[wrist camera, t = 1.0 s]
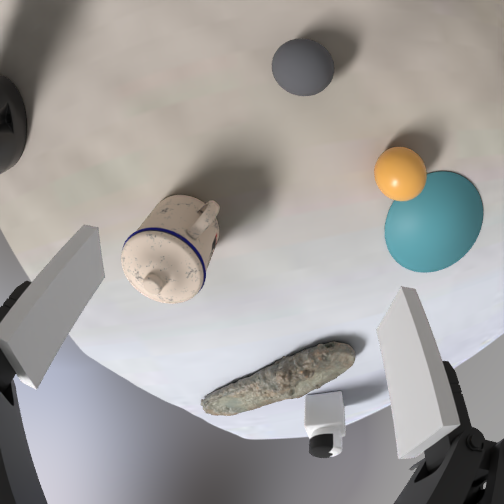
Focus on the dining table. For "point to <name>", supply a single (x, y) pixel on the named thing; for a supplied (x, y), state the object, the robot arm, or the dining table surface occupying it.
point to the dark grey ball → (302, 67)
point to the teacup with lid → (172, 249)
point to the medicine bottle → (325, 423)
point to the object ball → (400, 174)
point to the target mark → (435, 223)
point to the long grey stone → (282, 379)
